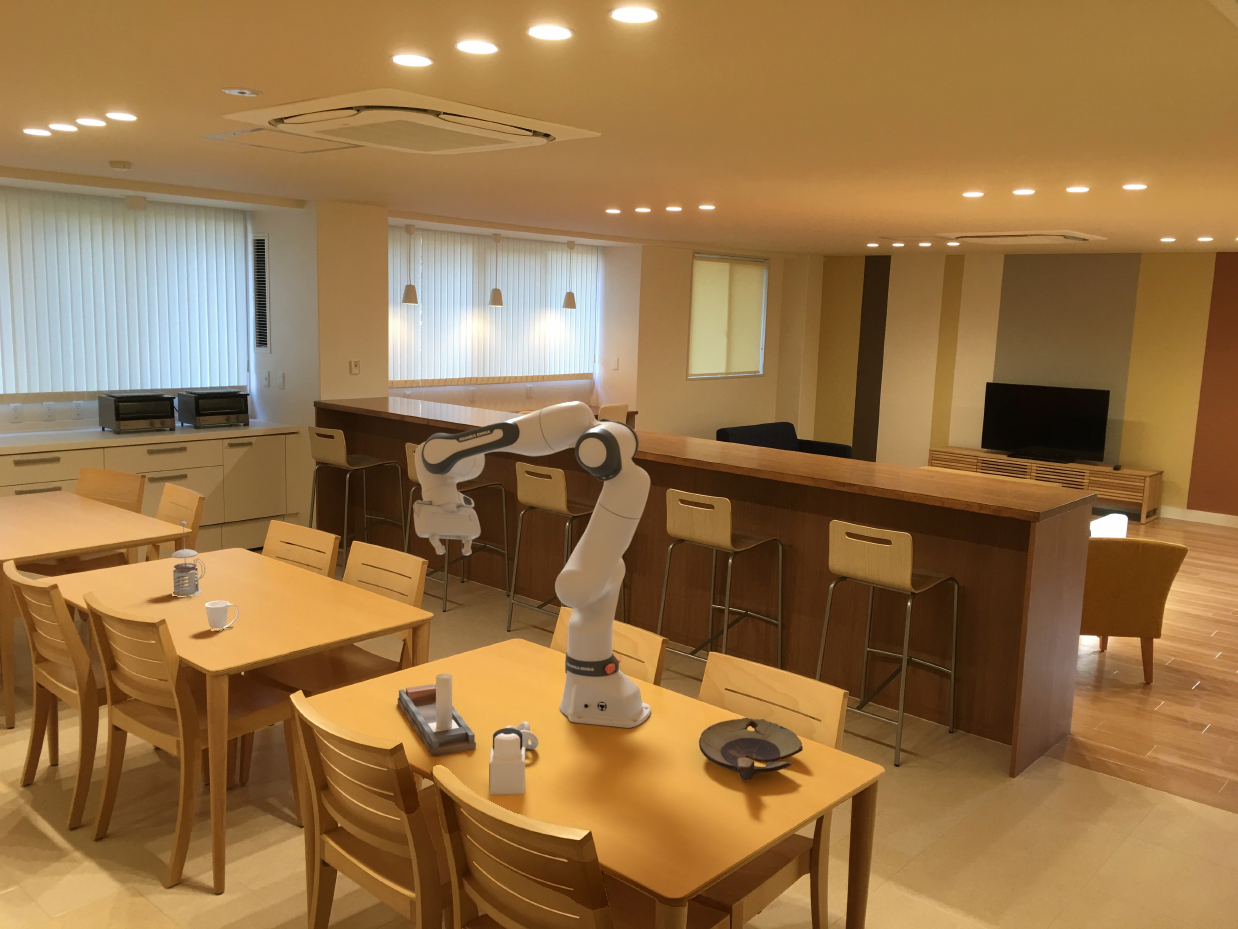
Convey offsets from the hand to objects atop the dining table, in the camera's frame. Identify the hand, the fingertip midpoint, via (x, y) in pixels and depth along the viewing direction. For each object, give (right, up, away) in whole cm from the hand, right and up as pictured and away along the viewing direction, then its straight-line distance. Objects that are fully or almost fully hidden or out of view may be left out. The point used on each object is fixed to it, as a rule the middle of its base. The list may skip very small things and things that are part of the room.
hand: (454, 554), depth 239 cm
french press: (-105, -22, +89) cm, 140 cm away
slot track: (-3, -39, -11) cm, 41 cm away
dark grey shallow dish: (+68, -44, -27) cm, 86 cm away
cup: (-80, -28, +54) cm, 101 cm away
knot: (+19, -42, -23) cm, 52 cm away
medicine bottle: (+18, -45, -39) cm, 62 cm away
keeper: (+1, -39, -18) cm, 43 cm away
